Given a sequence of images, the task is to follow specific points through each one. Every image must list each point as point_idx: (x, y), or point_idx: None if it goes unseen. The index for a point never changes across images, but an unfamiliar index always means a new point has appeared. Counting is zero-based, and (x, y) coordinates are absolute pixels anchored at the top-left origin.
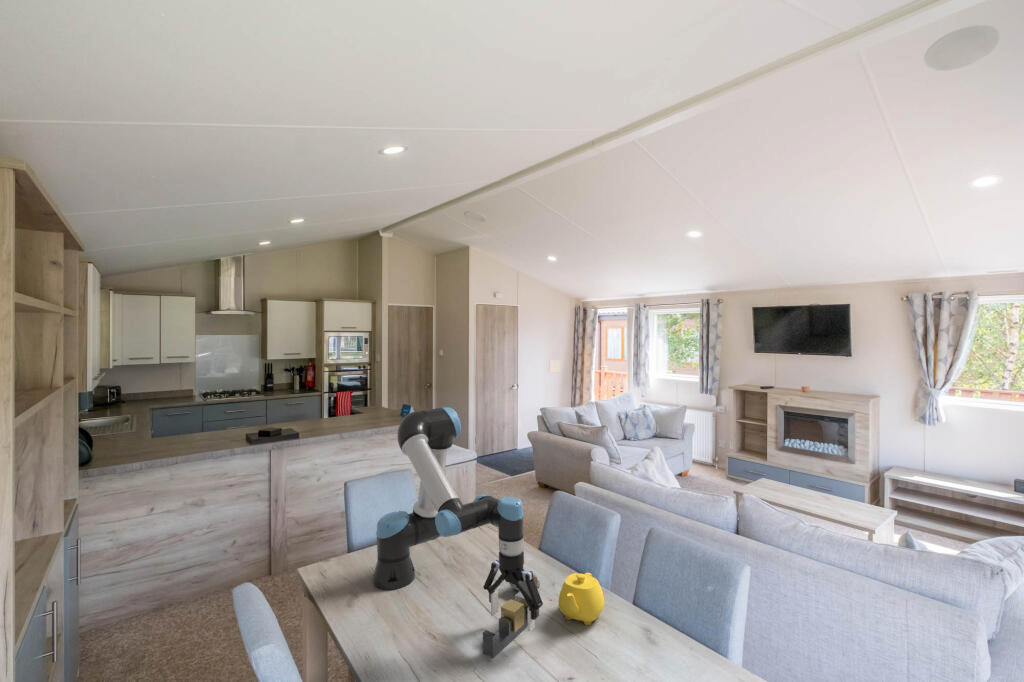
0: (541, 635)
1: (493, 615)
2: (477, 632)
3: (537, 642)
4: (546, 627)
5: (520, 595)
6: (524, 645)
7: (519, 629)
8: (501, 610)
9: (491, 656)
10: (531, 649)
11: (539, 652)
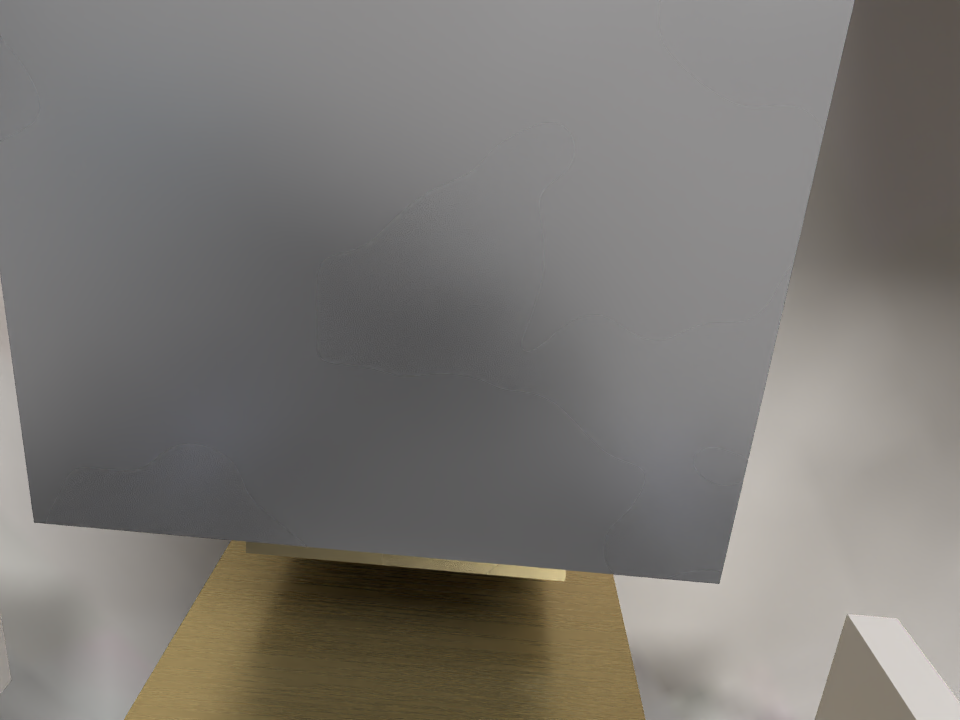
0: (862, 367)
1: (6, 675)
2: (16, 693)
3: (855, 528)
4: (881, 131)
5: (240, 447)
6: (704, 647)
7: None
8: None
9: None
10: (823, 670)
11: (944, 674)
